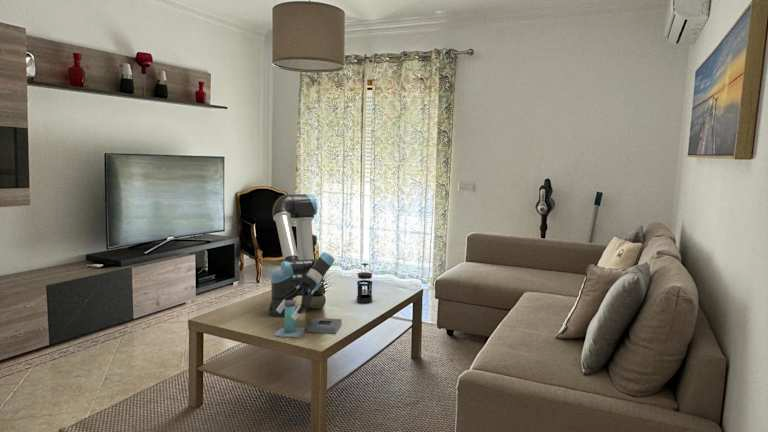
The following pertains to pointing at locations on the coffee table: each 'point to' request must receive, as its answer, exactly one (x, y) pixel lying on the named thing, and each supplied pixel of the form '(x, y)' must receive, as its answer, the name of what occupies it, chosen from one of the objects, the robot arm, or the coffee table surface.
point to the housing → (324, 325)
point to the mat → (282, 333)
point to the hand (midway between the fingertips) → (285, 315)
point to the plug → (289, 316)
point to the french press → (364, 295)
